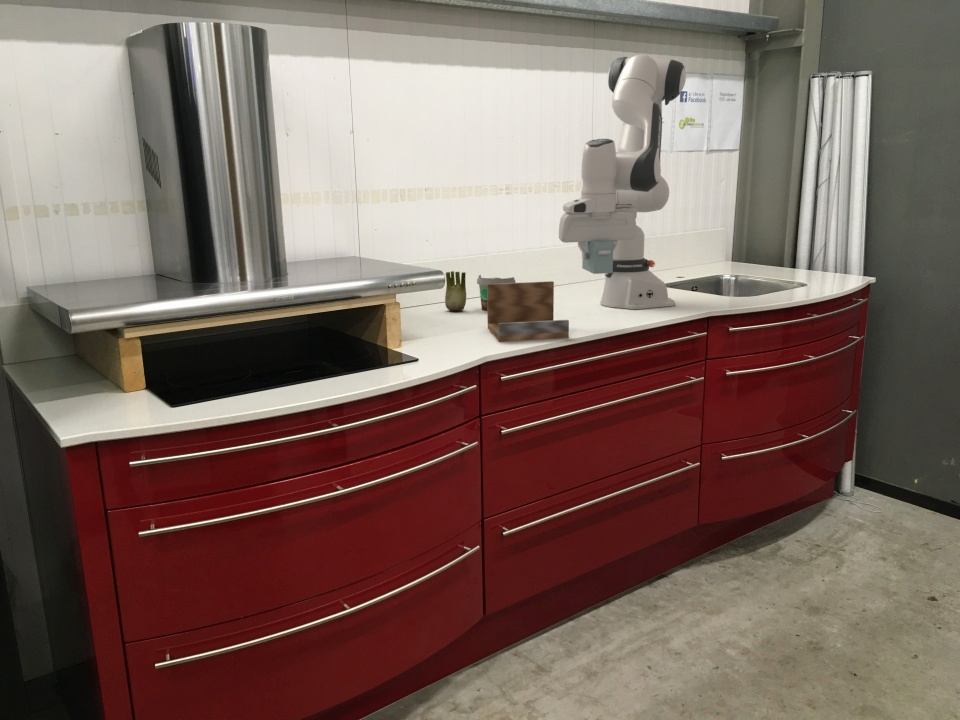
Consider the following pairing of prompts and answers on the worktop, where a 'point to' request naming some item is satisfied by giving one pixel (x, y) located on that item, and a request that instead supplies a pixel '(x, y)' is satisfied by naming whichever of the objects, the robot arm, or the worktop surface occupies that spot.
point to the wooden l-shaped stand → (523, 312)
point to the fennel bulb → (455, 291)
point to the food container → (483, 287)
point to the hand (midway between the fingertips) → (597, 258)
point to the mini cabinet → (599, 257)
